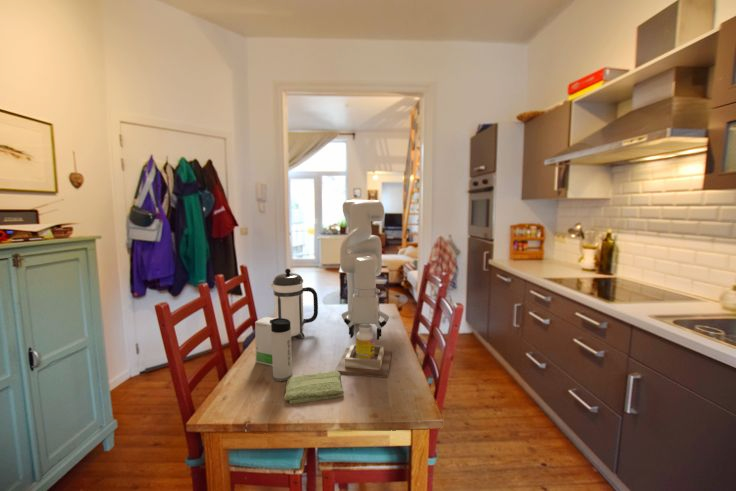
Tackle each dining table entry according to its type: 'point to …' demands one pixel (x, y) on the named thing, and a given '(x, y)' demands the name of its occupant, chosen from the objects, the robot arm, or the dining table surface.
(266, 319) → the skincare box
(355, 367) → the collar dock
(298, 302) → the coffee press
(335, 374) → the washcloth
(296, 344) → the dining table surface
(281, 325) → the travel mug
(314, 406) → the dining table surface
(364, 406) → the dining table surface
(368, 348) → the supplement bottle
